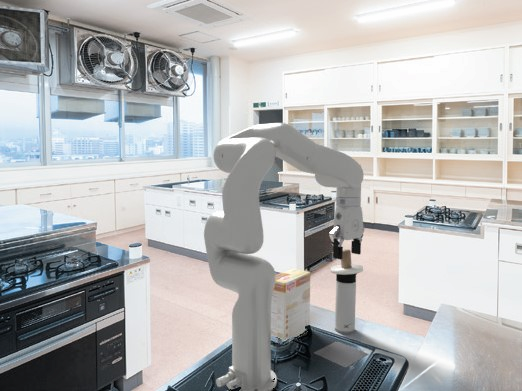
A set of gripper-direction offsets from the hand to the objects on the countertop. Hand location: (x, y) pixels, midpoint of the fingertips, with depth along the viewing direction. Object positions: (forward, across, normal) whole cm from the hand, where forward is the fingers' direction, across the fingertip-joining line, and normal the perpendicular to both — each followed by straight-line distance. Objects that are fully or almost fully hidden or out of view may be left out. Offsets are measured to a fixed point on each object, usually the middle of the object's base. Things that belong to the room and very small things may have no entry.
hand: (347, 256), depth 127 cm
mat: (+25, -14, -8) cm, 30 cm away
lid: (+5, 0, 0) cm, 5 cm away
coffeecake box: (+25, -16, +10) cm, 31 cm away
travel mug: (+25, 0, 0) cm, 25 cm away
